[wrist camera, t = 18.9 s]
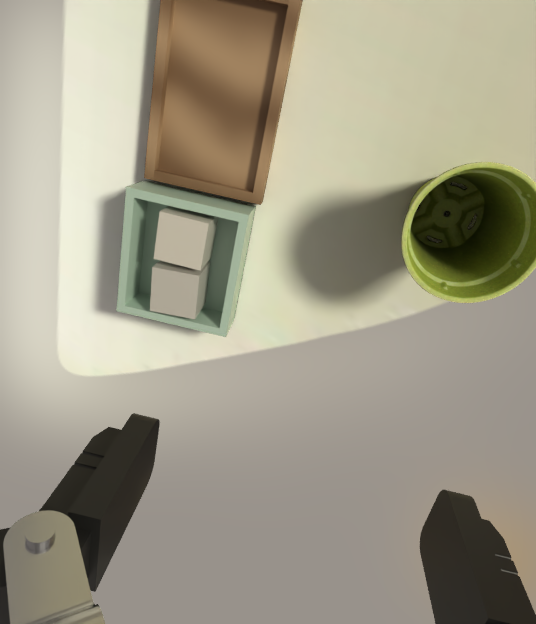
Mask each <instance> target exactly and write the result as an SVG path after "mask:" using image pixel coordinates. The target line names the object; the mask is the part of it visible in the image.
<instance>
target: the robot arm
mask: <svg viewBox="0 0 536 624" xmlns="http://www.w3.org/2000/svg"><path fill="white" fill-rule="evenodd" d="M158 431H159V420H158V419H155V418H151V417H147V416H142V415H138V414H132V415H131V416H130V418H129V419H128V421H127V422H126V424H125V425H124V427H123V428H122V430H119V429H115V428H111V427H108V428H107V429H105V430H103V431H102V432H100V433H99V434H97V435H96V436H94V437H93V438H92V439H91V441H90V442H89V444H88V445H87V446H86V448H85V449H84V450H83V453H82V454H80V456H79V457H78V459H77V460H76V461H75V464H74V465H73V466H72V467H71V468H70V470H69V471H68V472H67V474H66V475H65V477H64V478H63V479H62V481H61V482H60V484H59V485H58V486H57V488H56V489H55V490H54V492H53V493H52V494H51V496H50V497H49V499H48V500H47V501H46V503H45V504H44V505H43V507H42V508H41V509H40V510H39V512H35V513H32V514H29V515H27V516H25V517H23V518H21V519H20V520H18V521H17V522H16V523H14V525H13V526H12V527H10V528H6V529H1V530H0V624H105V621H104V618H103V614H102V611H101V609H100V607H99V605H98V604H97V605H95V604H94V602H93V599H92V595H91V591H96V589H97V587H98V585H99V583H100V581H101V579H102V577H103V575H104V573H105V571H106V569H107V566H108V564H109V562H110V560H111V558H112V556H113V554H114V552H115V550H116V548H117V546H118V544H119V542H120V540H121V538H122V536H123V534H124V532H125V530H126V527H127V525H128V523H129V521H130V519H131V517H132V515H133V513H134V511H135V509H136V507H137V505H138V503H139V501H140V499H141V497H142V494H143V492H144V490H145V488H146V486H147V484H148V482H149V479H150V476H151V473H152V470H153V466H154V461H155V454H156V445H157V439H158ZM420 553H421V558H422V562H423V567H424V572H425V577H426V581H427V586H428V591H429V595H430V600H431V604H432V609H433V614H434V618H435V623H436V624H536V615H535V613H534V610H533V608H532V605H531V603H530V600H529V598H528V596H527V593H526V591H525V589H524V586H523V584H522V581H521V579H520V577H519V576H518V575H517V573H518V572H517V570H516V567H515V565H514V562H513V561H511V555H510V553H509V551H508V548H507V546H506V543H505V541H504V539H503V537H502V536H501V535H500V534H499V532H498V531H497V530H496V529H495V527H494V526H493V525H492V524H491V522H490V521H488V520H484V519H481V517H480V514H479V511H478V509H477V506H476V503H475V501H474V499H473V498H472V497H471V496H468V495H464V494H460V493H456V492H451V491H447V490H442V491H441V492H440V493H439V495H438V497H437V499H436V501H435V503H434V505H433V507H432V509H431V512H430V514H429V516H428V518H427V520H426V522H425V524H424V526H423V529H422V532H421V537H420ZM90 590H91V591H90Z"/></svg>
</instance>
